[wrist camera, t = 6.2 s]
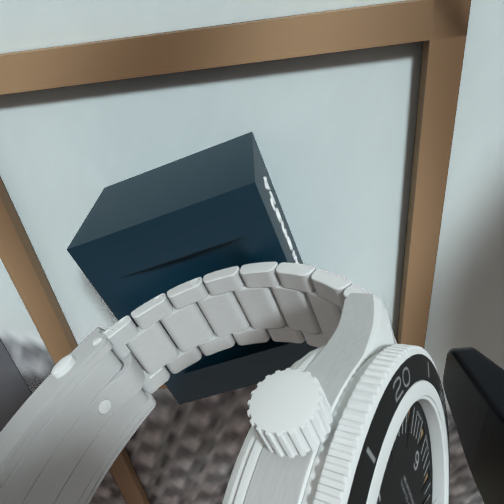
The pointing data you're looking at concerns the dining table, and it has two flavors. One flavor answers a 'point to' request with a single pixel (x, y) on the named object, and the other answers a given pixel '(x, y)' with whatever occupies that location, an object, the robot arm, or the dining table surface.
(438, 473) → the watch
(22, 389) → the dome frame
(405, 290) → the brown flat frame
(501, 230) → the dining table surface
